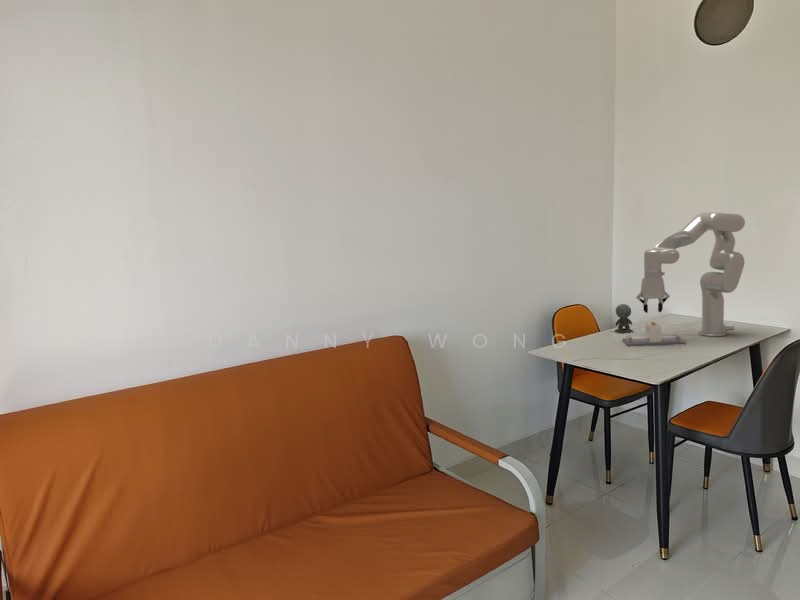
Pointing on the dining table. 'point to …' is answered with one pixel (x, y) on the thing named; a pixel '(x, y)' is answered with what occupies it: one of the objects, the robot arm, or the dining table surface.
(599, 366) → the dining table surface
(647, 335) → the block
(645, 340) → the rail plate
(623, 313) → the figurine
